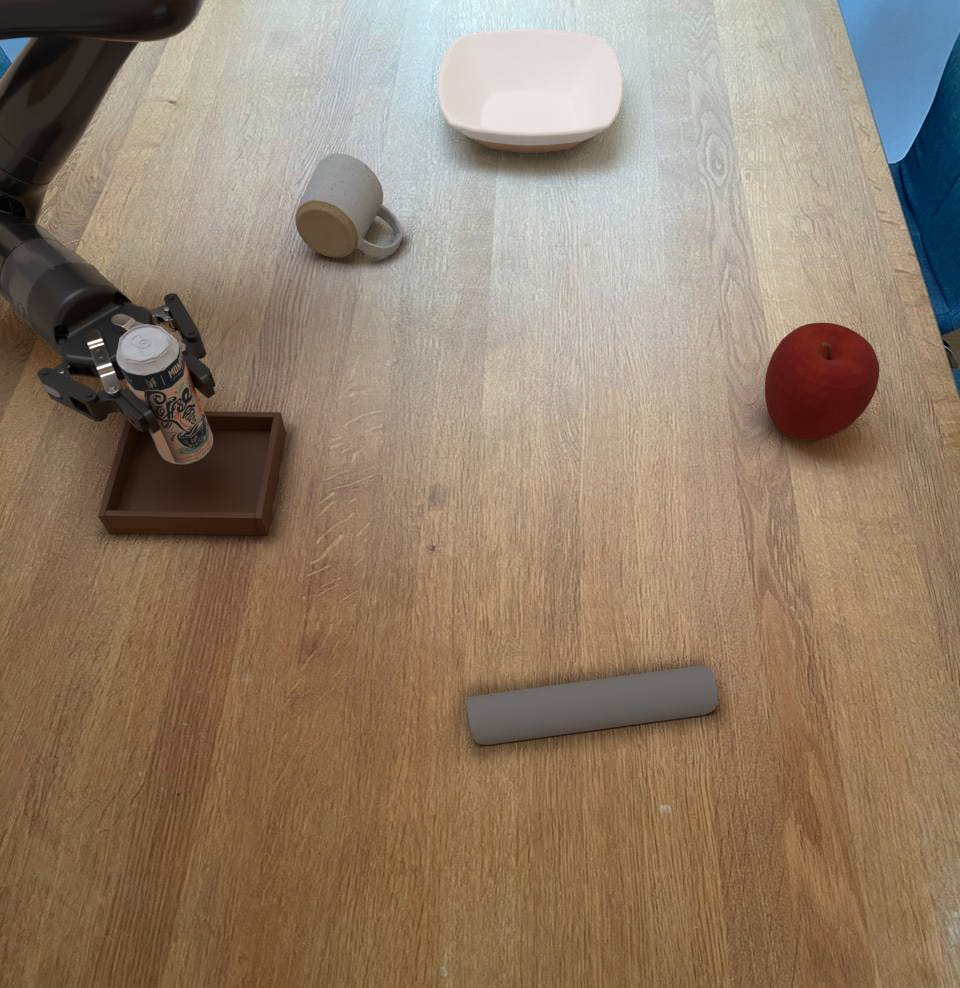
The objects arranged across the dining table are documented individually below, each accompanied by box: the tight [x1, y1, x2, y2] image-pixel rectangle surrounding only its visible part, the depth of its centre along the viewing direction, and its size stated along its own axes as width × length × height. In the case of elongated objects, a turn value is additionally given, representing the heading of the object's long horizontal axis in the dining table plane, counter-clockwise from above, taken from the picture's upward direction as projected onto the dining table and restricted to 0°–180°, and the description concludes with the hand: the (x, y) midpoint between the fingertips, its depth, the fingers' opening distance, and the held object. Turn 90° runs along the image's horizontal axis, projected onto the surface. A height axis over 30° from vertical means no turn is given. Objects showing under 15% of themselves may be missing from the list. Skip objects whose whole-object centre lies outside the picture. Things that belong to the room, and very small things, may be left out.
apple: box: [764, 322, 880, 441], centre depth 85 cm, size 10×10×10 cm
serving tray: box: [97, 410, 287, 537], centre depth 85 cm, size 14×12×3 cm
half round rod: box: [465, 664, 719, 746], centre depth 73 cm, size 4×20×2 cm, turn 98°
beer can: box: [116, 324, 213, 464], centre depth 77 cm, size 5×5×12 cm
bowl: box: [437, 28, 624, 154], centre depth 112 cm, size 22×22×5 cm
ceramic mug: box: [294, 153, 404, 258], centre depth 100 cm, size 11×8×8 cm
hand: (181, 406), depth 75 cm, fingers closed on beer can, 4 cm apart
